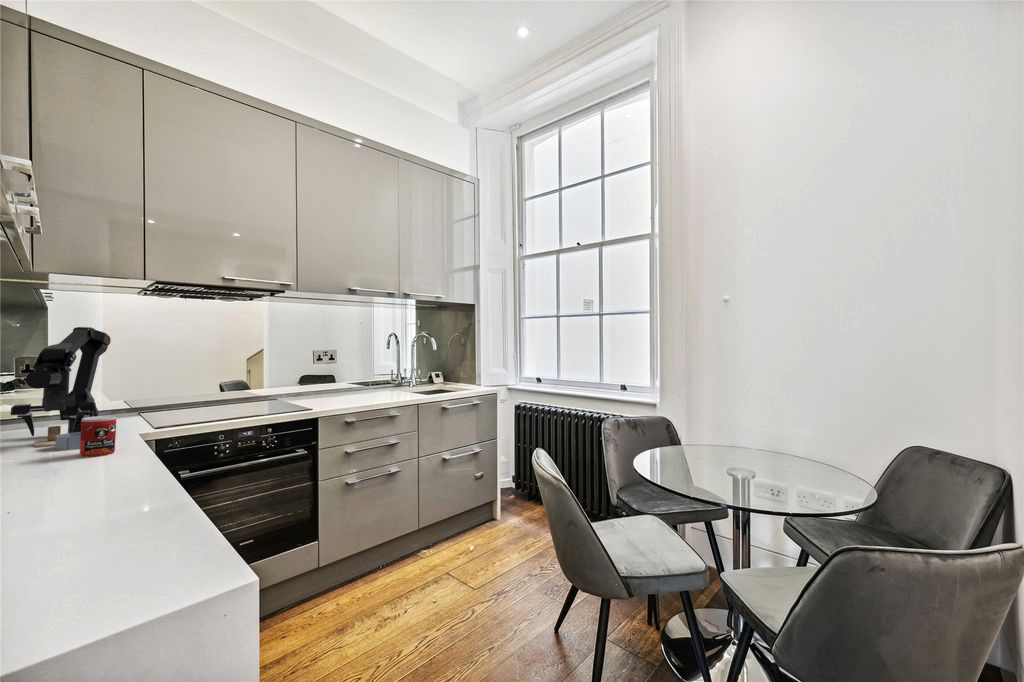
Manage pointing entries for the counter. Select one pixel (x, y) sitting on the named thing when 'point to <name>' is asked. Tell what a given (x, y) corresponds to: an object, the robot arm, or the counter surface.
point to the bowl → (68, 441)
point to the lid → (49, 437)
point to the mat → (41, 446)
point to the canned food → (97, 436)
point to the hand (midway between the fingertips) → (54, 434)
